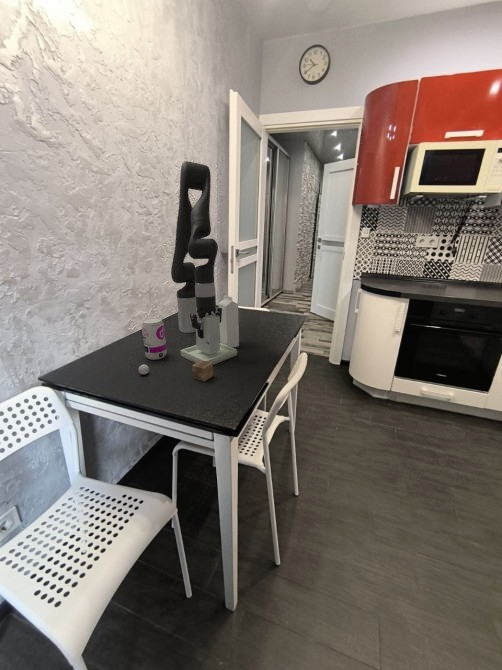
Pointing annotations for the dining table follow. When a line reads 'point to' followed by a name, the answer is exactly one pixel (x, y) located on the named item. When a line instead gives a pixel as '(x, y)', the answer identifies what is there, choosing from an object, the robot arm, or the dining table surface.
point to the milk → (229, 322)
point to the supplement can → (154, 338)
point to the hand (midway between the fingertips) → (207, 335)
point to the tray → (214, 358)
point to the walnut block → (202, 370)
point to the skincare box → (209, 335)
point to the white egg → (143, 369)
